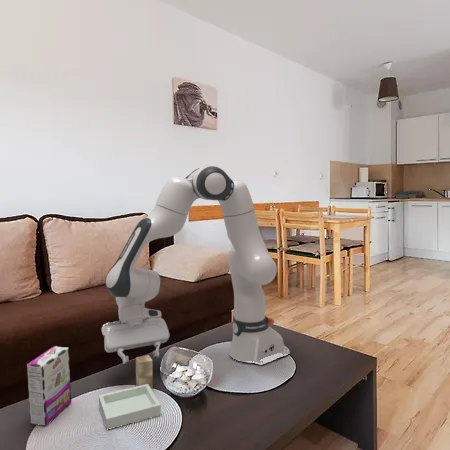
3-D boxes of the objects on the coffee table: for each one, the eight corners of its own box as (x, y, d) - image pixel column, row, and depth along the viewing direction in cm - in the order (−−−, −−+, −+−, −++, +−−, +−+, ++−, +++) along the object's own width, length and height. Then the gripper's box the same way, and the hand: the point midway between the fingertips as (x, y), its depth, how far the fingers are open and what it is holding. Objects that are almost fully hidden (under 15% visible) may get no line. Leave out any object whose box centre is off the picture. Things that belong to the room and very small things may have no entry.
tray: (148, 393, 113) (147, 383, 113) (160, 415, 103) (160, 404, 102) (98, 405, 107) (98, 395, 106) (106, 430, 96) (106, 419, 96)
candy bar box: (56, 400, 109) (54, 345, 107) (71, 402, 108) (70, 347, 106) (28, 424, 98) (25, 363, 96) (45, 427, 97) (43, 365, 95)
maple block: (148, 382, 119) (148, 354, 118) (152, 388, 116) (152, 360, 115) (136, 385, 118) (135, 357, 117) (139, 391, 114) (139, 363, 113)
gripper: (101, 319, 118) (108, 362, 111) (165, 310, 128) (175, 349, 120) (99, 328, 123) (105, 370, 115) (161, 318, 132) (170, 357, 125)
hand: (141, 359), depth 118 cm, fingers open, 8 cm apart
